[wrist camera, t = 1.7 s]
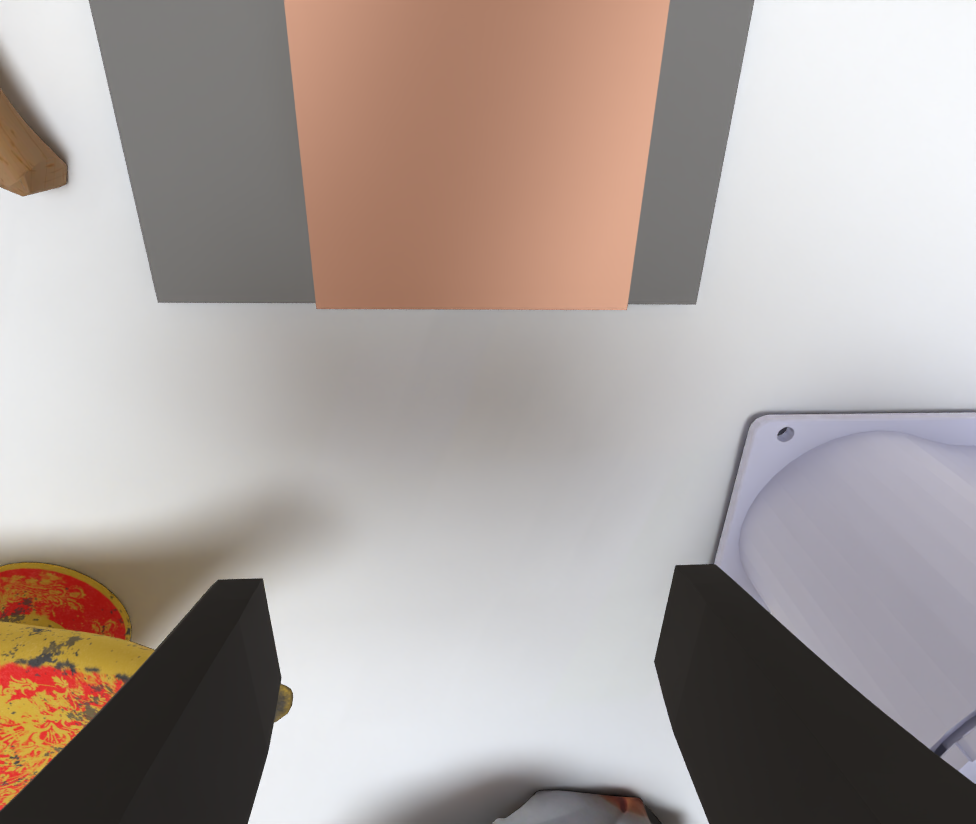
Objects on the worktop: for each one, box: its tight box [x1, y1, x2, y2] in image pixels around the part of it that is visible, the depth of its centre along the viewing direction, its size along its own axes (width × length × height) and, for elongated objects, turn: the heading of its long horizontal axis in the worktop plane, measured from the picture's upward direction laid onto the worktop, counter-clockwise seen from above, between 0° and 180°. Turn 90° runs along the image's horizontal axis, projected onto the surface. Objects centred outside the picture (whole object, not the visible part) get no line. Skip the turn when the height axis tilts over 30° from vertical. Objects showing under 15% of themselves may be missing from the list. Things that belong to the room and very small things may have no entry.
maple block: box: [284, 0, 670, 310], centre depth 11 cm, size 4×4×8 cm
